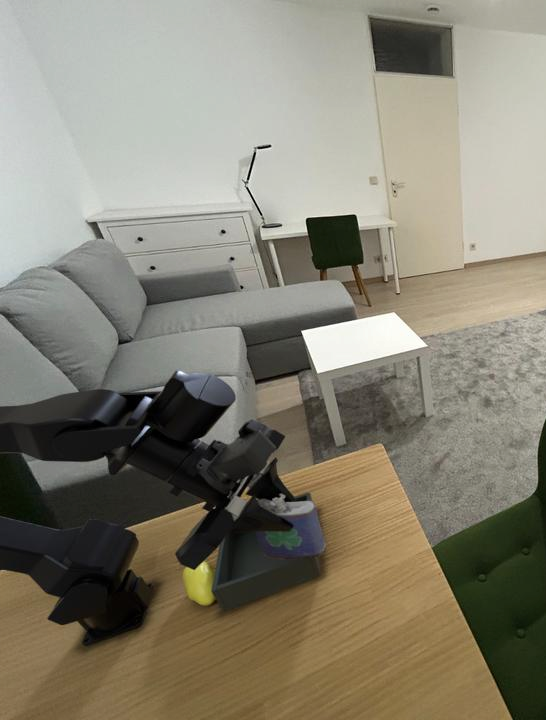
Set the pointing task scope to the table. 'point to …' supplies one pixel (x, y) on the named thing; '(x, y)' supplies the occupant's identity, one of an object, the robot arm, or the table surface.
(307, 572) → the tray
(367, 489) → the table surface
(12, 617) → the table surface
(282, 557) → the flask
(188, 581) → the yellow rounded oblong piece
